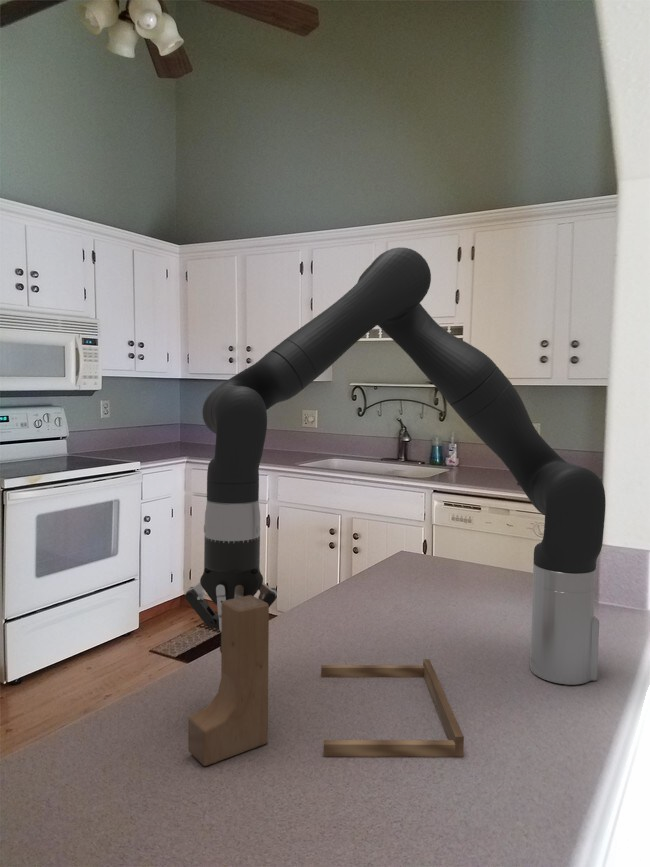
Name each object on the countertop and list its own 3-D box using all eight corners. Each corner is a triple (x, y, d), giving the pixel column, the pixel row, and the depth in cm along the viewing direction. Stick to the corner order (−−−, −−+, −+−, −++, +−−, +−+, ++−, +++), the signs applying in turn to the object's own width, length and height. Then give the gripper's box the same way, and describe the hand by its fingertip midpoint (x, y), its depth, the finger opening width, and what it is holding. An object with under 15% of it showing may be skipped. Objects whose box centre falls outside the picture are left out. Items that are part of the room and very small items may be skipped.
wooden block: (203, 768, 75) (204, 617, 74) (187, 751, 79) (186, 607, 78) (269, 743, 81) (270, 602, 80) (250, 728, 84) (251, 593, 83)
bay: (429, 674, 102) (429, 659, 101) (463, 756, 79) (463, 736, 78) (321, 674, 101) (321, 658, 101) (323, 756, 78) (323, 736, 78)
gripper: (282, 527, 92) (280, 646, 93) (189, 526, 92) (188, 645, 93) (279, 539, 84) (277, 669, 85) (178, 537, 84) (177, 667, 85)
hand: (230, 656), depth 89 cm, fingers closed
